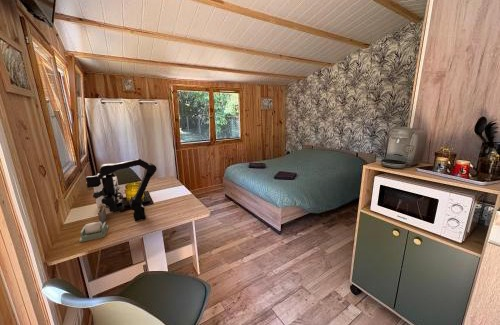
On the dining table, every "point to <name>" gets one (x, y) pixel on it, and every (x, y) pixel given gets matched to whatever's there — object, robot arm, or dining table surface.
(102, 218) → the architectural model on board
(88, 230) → the roll
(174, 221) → the dining table surface
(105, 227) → the holder
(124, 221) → the dining table surface
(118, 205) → the french press
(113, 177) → the gable box
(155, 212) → the dining table surface
